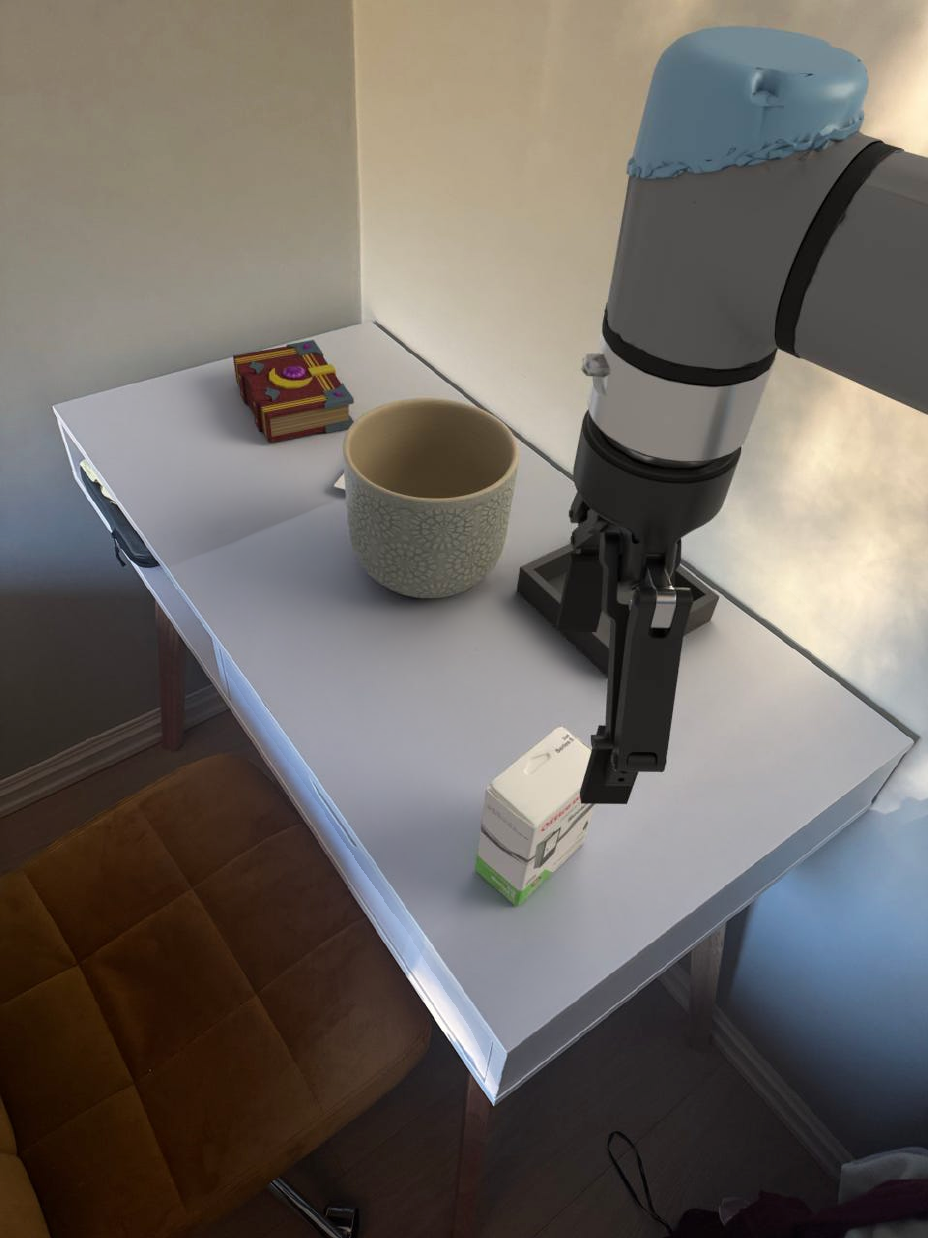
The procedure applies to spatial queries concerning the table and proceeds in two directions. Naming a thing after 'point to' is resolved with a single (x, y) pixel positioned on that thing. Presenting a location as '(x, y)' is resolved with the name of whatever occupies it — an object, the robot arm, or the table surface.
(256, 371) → the decorative book
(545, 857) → the ink box
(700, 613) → the dock
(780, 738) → the table surface
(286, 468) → the table surface
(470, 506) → the planter
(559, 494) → the table surface
